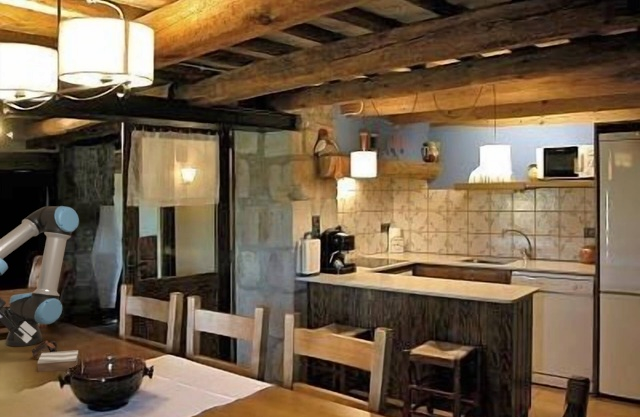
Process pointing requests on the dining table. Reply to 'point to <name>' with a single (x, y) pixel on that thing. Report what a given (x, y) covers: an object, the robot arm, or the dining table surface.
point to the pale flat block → (58, 360)
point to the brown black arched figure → (44, 348)
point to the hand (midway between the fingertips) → (31, 337)
